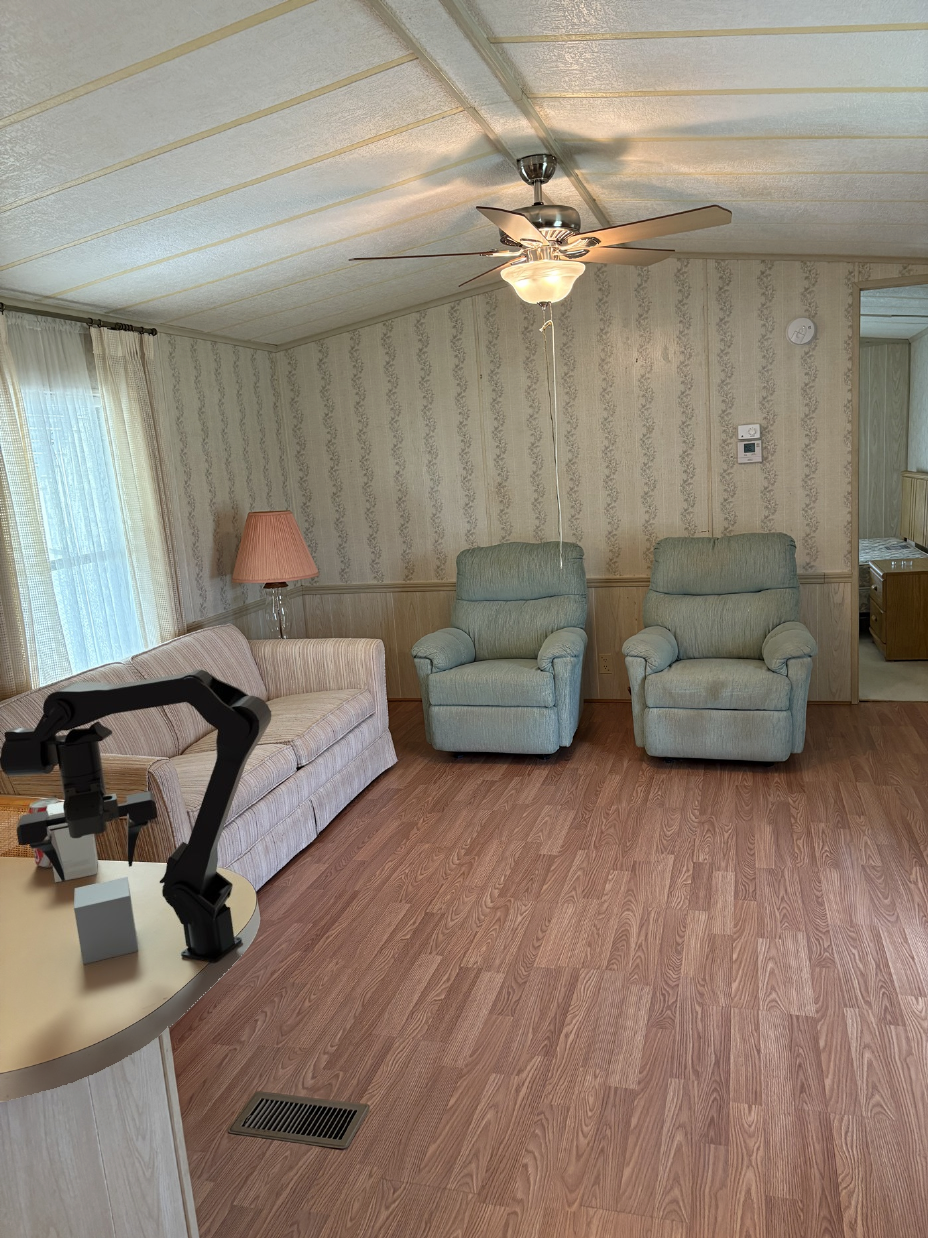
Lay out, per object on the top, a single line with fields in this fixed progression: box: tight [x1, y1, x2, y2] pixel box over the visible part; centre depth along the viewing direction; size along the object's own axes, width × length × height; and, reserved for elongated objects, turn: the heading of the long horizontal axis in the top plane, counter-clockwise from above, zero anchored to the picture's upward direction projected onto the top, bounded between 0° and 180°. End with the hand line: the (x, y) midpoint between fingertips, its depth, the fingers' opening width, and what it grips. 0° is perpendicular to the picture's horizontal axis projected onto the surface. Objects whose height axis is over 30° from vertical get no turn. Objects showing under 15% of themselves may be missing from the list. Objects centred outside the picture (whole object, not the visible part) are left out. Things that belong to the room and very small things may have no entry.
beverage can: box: [27, 797, 60, 868], centre depth 179 cm, size 6×6×12 cm
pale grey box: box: [73, 876, 139, 965], centre depth 144 cm, size 8×8×9 cm
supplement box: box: [46, 801, 99, 883], centre depth 174 cm, size 7×7×13 cm
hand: (97, 872), depth 140 cm, fingers open, 9 cm apart
